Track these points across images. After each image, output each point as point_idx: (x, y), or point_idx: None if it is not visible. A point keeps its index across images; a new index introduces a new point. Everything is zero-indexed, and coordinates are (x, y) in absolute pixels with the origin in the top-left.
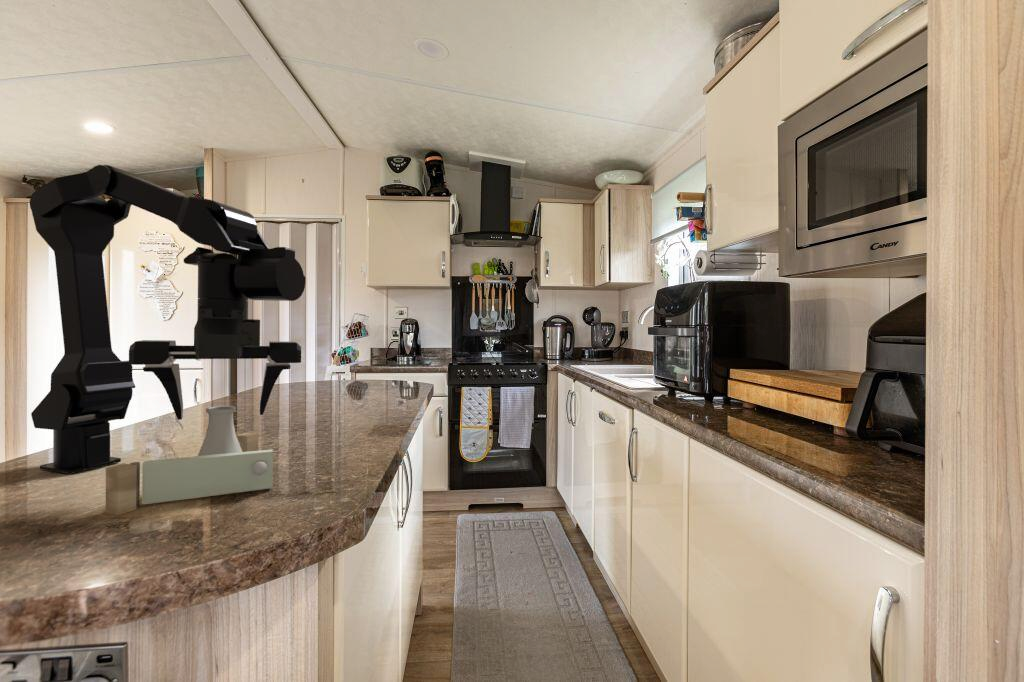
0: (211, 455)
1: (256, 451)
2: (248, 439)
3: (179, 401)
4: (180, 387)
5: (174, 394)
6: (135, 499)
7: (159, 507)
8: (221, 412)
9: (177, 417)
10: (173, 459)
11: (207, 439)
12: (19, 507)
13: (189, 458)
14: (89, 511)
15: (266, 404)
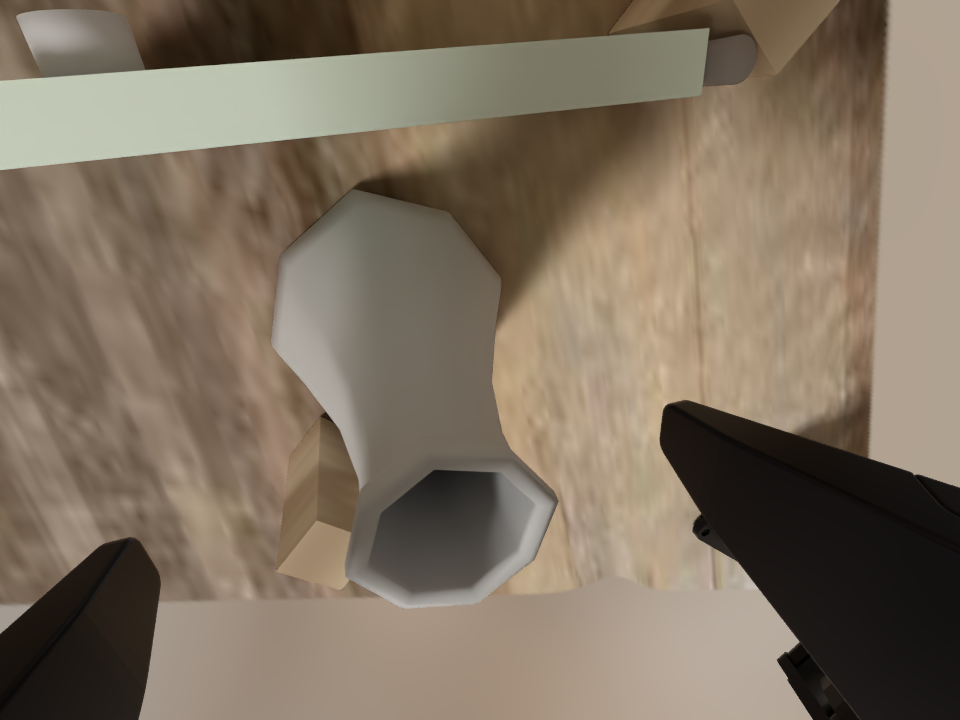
0: (395, 110)
1: (104, 135)
2: (313, 513)
3: (783, 460)
4: (850, 658)
5: (883, 489)
6: (631, 23)
7: (537, 25)
8: (428, 438)
9: (694, 402)
10: (582, 73)
11: (475, 358)
12: (863, 196)
13: (505, 68)
14: None
15: (8, 628)
